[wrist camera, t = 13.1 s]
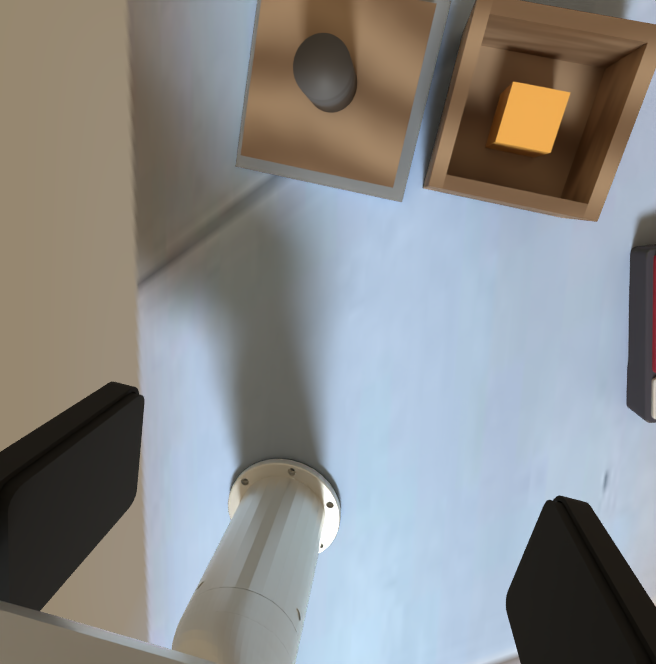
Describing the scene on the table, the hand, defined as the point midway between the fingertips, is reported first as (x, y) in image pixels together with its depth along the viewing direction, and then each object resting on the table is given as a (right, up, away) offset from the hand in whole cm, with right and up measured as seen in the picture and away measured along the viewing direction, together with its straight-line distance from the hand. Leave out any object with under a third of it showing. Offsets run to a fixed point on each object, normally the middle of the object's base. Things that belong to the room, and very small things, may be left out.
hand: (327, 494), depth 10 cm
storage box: (+15, +20, +27) cm, 37 cm away
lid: (+1, +24, +27) cm, 36 cm away
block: (+15, +20, +26) cm, 36 cm away
